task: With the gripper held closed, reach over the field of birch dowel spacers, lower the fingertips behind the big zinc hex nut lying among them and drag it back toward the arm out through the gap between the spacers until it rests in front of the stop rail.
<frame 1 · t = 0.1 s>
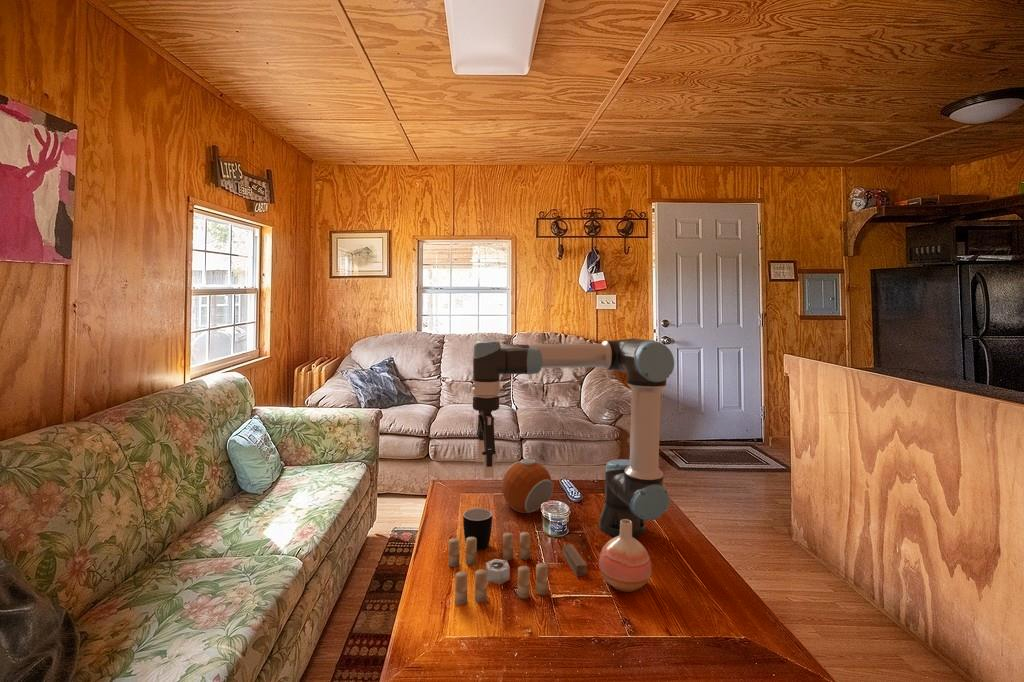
hand: (485, 469, 137), 28 cm above the table, fingers open, 13 cm apart
stop rail: (574, 564, 139), on the table
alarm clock: (526, 506, 180), on the table
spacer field: (504, 576, 132), on the table
nut: (497, 577, 132), on the table
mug: (475, 544, 150), on the table
vase: (624, 585, 129), on the table
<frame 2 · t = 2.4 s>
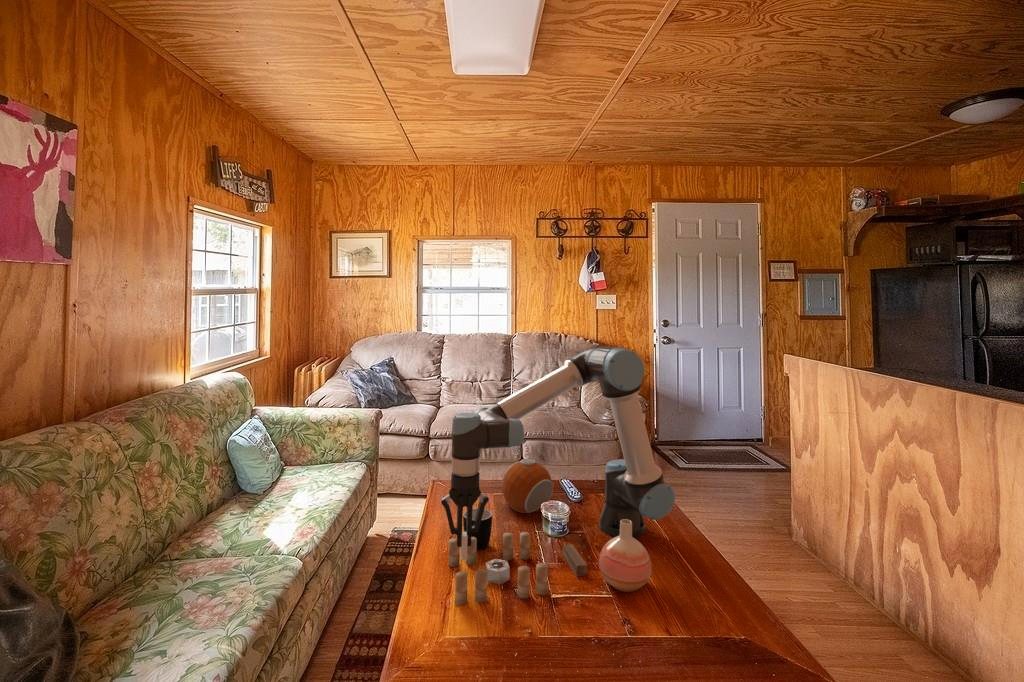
hand: (463, 557, 129), 7 cm above the table, fingers closed
nothing on the table moved.
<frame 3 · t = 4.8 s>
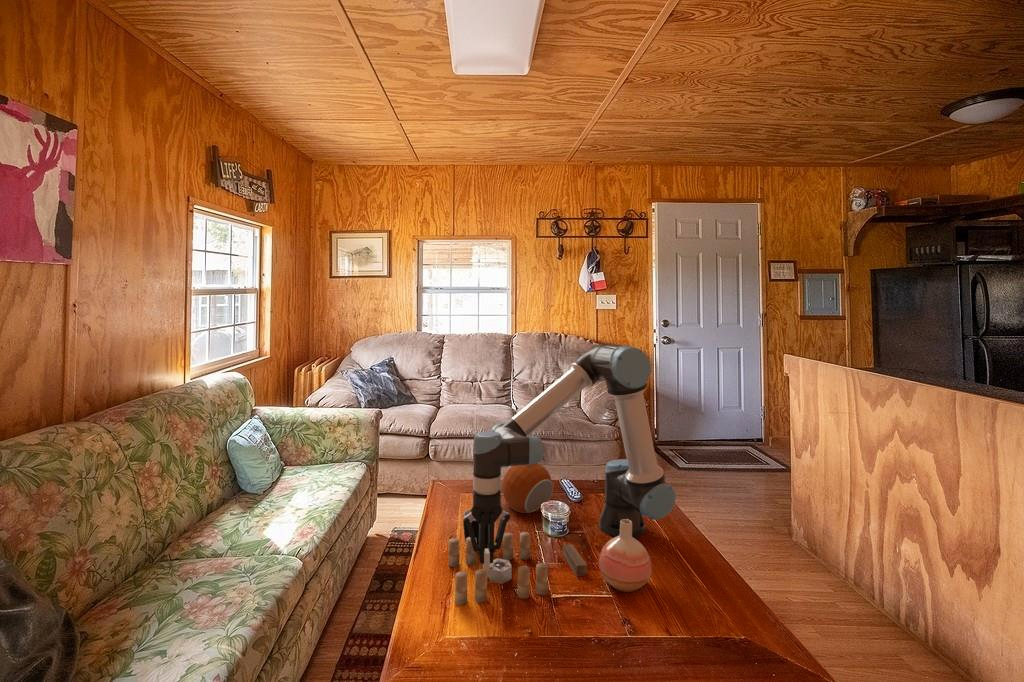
hand: (486, 574, 131), 1 cm above the table, fingers closed
nut: (499, 577, 132), on the table, touching gripper
everything else where it was.
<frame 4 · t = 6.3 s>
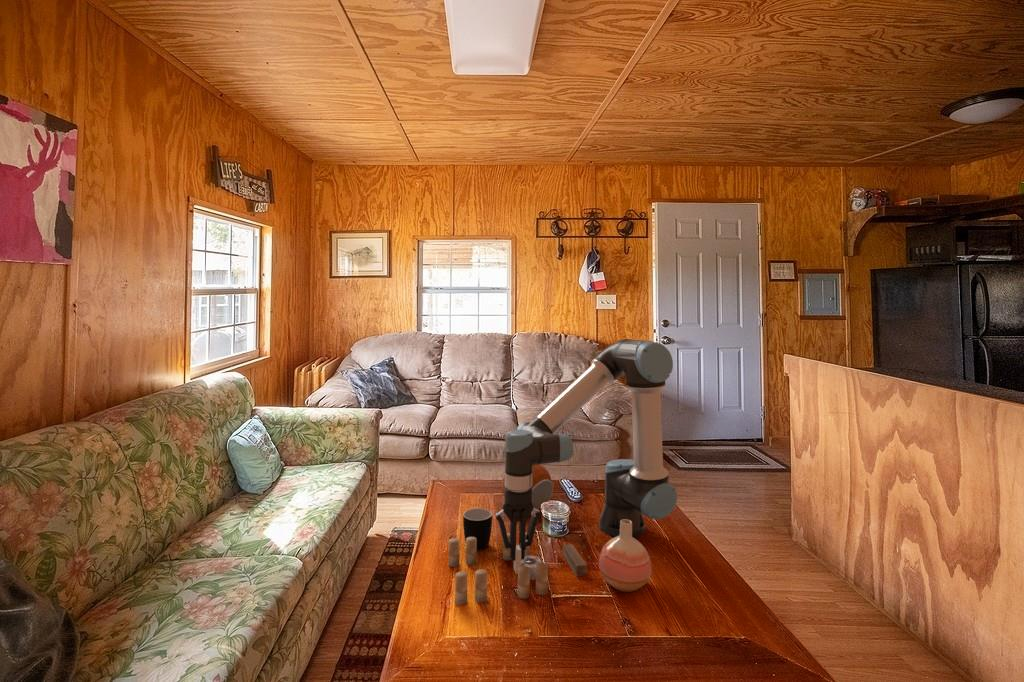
hand: (517, 570, 133), 1 cm above the table, fingers closed
nut: (530, 573, 134), on the table, touching gripper
everything else where it was.
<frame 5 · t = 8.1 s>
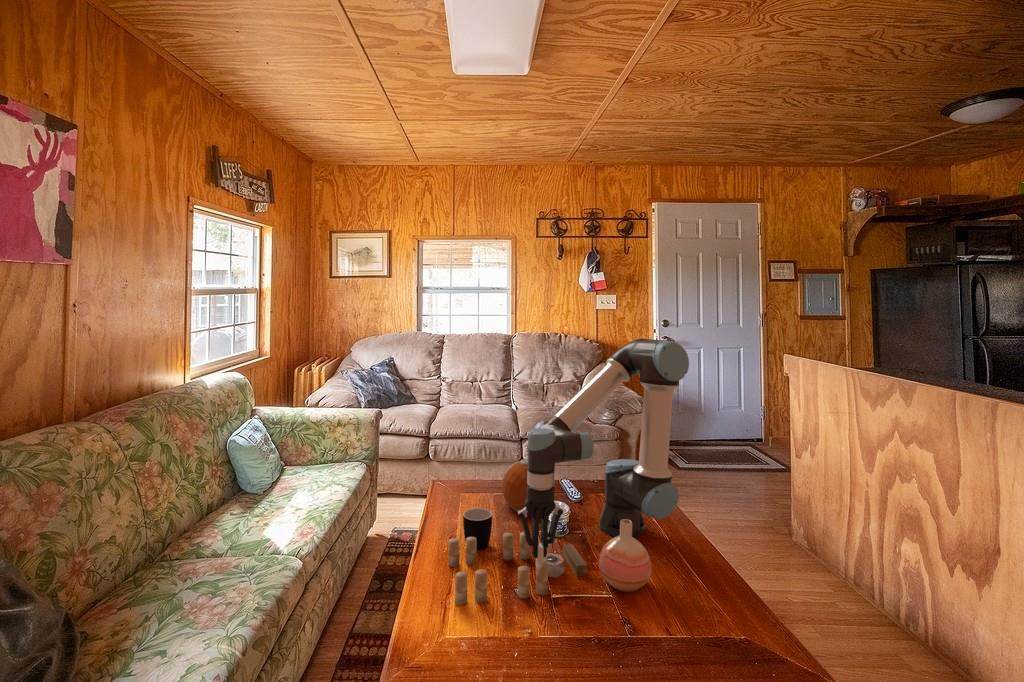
hand: (539, 567, 134), 1 cm above the table, fingers closed
nut: (551, 571, 135), on the table, touching gripper
everything else where it was.
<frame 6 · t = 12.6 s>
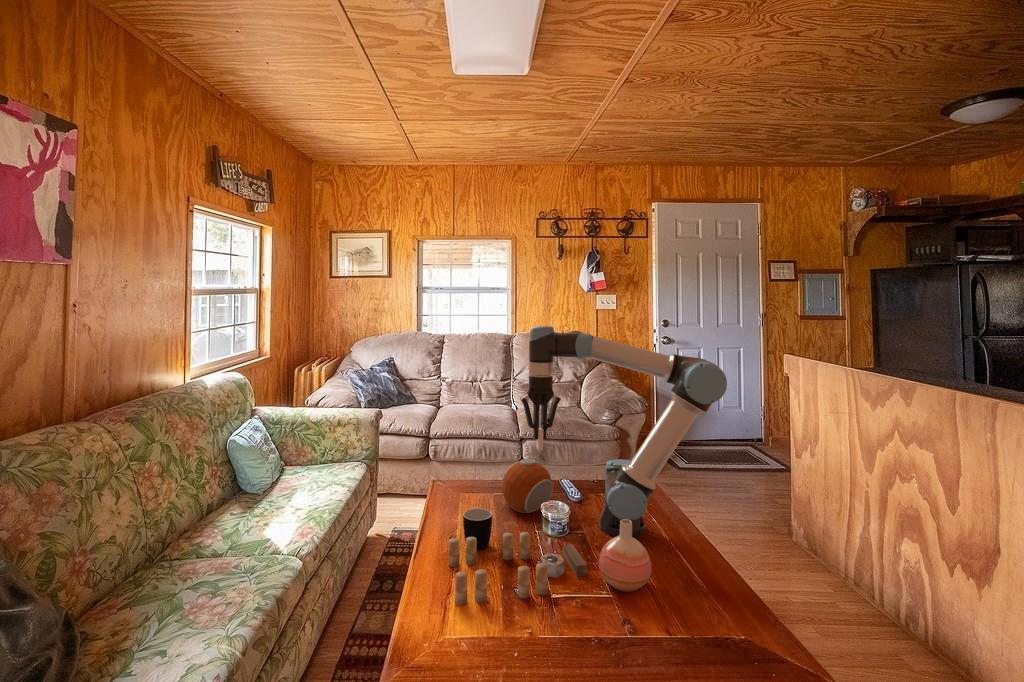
hand: (539, 449, 152), 29 cm above the table, fingers closed
nut: (552, 571, 135), on the table
everything else where it was.
at the end: nut inside the target area (0.9 cm from its centre), on the table; nut moved 15.7 cm from its start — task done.
